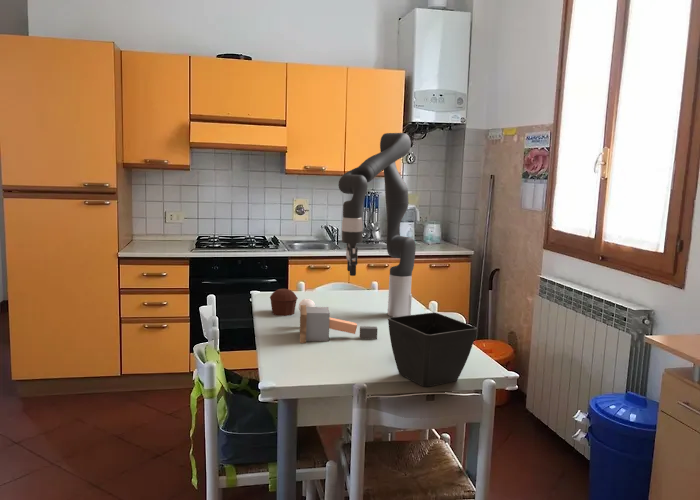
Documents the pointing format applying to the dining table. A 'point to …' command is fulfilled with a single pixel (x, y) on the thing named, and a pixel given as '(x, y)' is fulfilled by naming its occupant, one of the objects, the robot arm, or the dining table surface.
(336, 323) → the dowel
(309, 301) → the lightbulb
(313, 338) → the block
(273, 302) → the muffin
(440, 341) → the flower pot
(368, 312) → the dining table surface
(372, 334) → the block
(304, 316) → the wooden board
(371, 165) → the robot arm
